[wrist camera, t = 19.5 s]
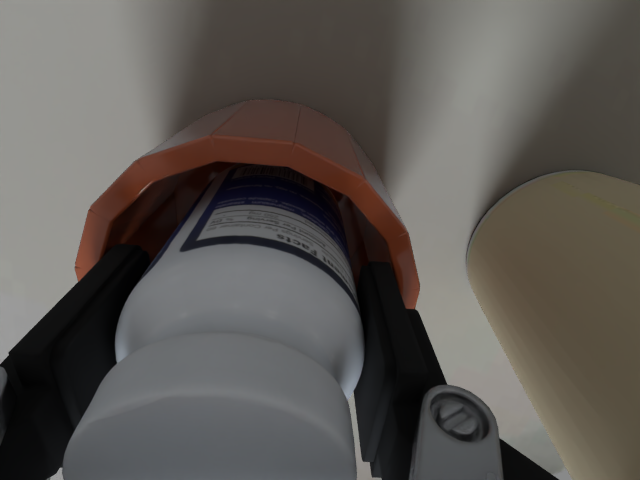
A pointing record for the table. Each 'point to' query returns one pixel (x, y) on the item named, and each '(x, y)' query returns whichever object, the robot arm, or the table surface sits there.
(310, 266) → the pill bottle
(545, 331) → the coffee cup
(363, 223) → the pen cup
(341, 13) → the table surface
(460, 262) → the table surface
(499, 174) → the table surface
